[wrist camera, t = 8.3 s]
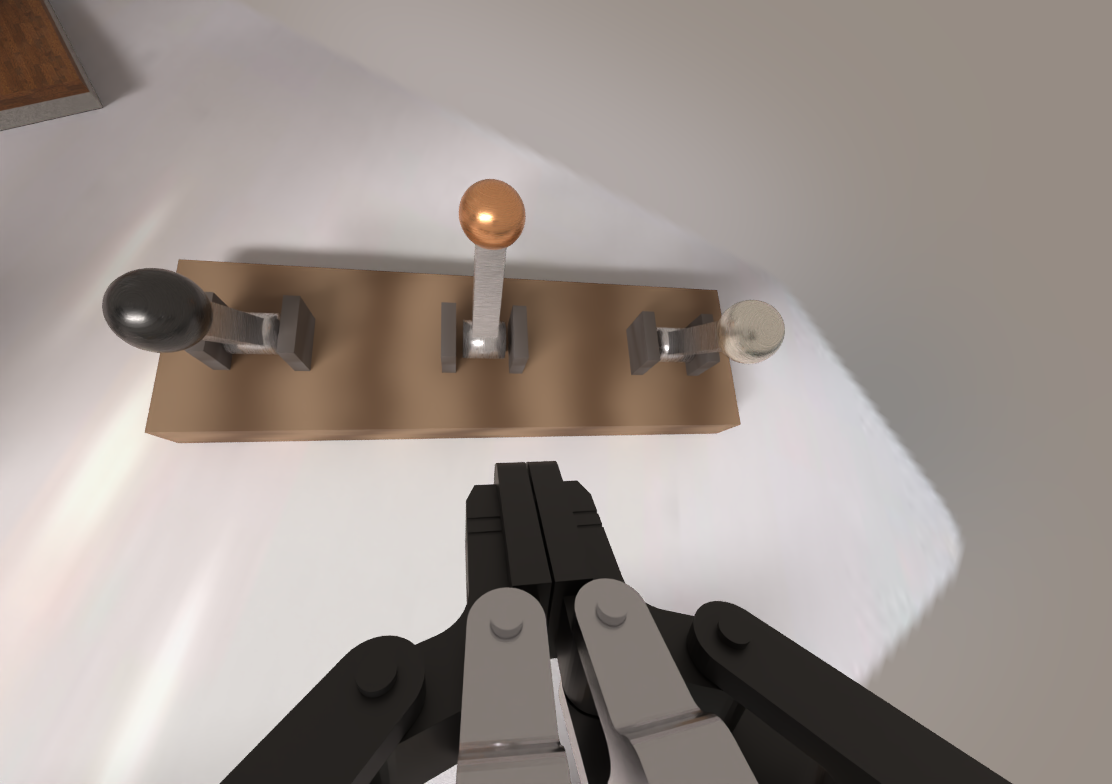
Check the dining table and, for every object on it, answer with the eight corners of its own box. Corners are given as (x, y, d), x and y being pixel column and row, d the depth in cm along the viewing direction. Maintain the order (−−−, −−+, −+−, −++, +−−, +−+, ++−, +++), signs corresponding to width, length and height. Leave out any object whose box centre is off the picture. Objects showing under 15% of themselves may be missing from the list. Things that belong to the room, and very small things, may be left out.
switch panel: (178, 443, 26) (104, 419, 20) (205, 286, 29) (147, 228, 23) (716, 433, 33) (767, 414, 28) (696, 309, 36) (739, 269, 31)
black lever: (234, 361, 25) (77, 348, 15) (234, 307, 25) (76, 255, 15) (294, 362, 26) (185, 350, 15) (294, 309, 26) (184, 261, 15)
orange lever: (457, 370, 26) (459, 198, 18) (457, 334, 28) (458, 162, 20) (509, 371, 27) (532, 205, 19) (505, 335, 29) (525, 170, 21)
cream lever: (642, 368, 30) (739, 361, 20) (643, 322, 30) (741, 292, 20) (683, 368, 31) (799, 363, 20) (684, 324, 31) (800, 296, 20)
